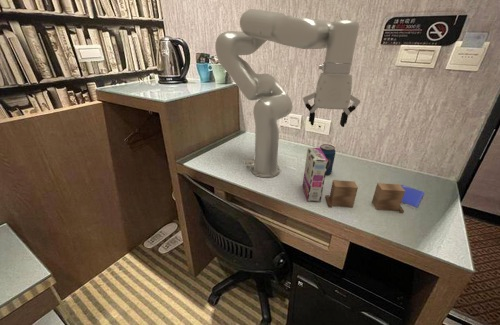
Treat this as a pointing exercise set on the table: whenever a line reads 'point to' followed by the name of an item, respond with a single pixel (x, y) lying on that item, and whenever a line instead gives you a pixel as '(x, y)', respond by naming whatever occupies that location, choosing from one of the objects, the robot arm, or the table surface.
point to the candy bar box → (314, 174)
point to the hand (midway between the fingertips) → (326, 124)
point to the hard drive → (411, 197)
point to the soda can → (328, 156)
